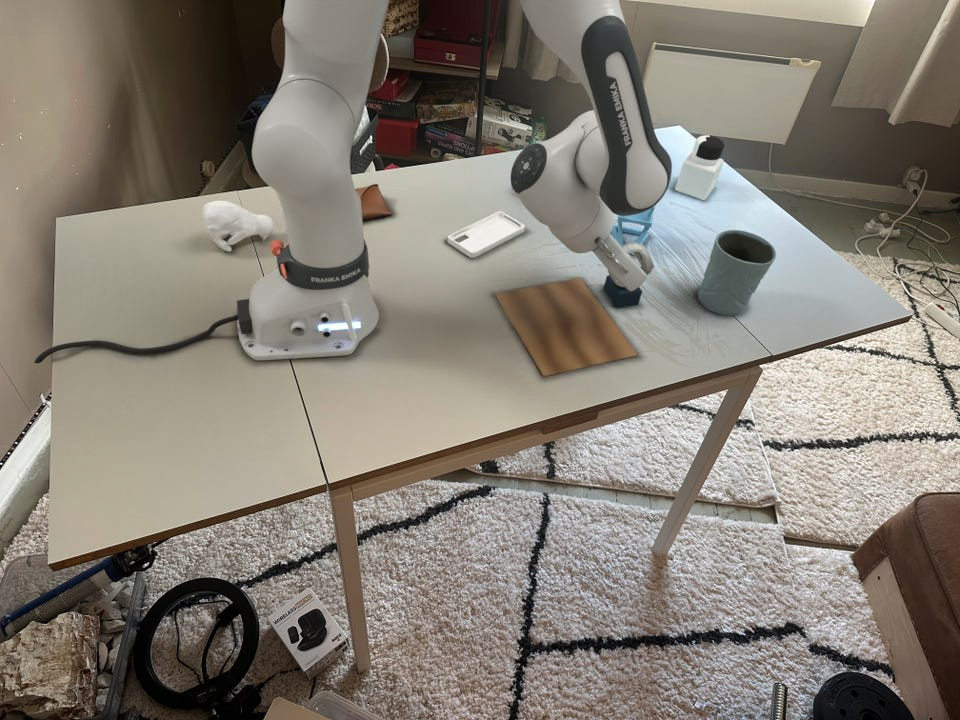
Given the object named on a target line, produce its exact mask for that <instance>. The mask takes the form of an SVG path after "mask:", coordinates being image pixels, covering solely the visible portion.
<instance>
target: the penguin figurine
mask: <svg viewBox="0 0 960 720" xmlns="http://www.w3.org/2000/svg"><path fill="white" fill-rule="evenodd" d="M202 218H203V221H204V225H205V226H206V229H207V231H208V232H207V233H208V236H209V238H211V239H212V240H213V242H214V243H215V244H216V246H218V247H219V248H220V249H221V250H224V251H225V252H228V253H230V252H232V246H231V245H236V244H237V243H239V242H241V241H242V240H244V239H245V238H249V237H251V236H255V235H258V236H259V237H260V238H262V242H264V241H265V240H266V239H267V238H268V237H269V236H270V235H271V233H272V232H273V231H274V229H275V223H274V221H273V218H271V217H270V216H268V215H267V214H255V213H254V212H250V211H249V210H248V209H247V208H244V207H242V206H241V205H239V204H236V203H233V202H231V201H229V200H213V201H210V202H207V203H205V204H204V205H203V207H202ZM228 235H230V236H231V237H230V238H229V239H228V240H224V239H226V238H227V237H228Z"/></svg>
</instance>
